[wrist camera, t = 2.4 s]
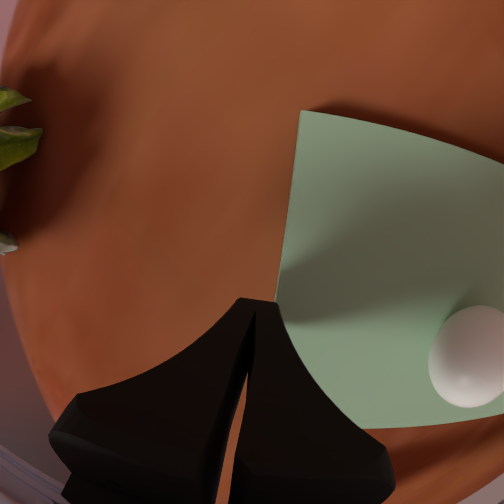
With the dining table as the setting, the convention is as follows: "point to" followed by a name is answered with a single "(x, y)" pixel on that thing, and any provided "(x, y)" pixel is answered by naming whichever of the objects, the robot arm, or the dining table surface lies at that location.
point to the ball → (469, 357)
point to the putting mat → (386, 263)
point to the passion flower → (14, 149)
